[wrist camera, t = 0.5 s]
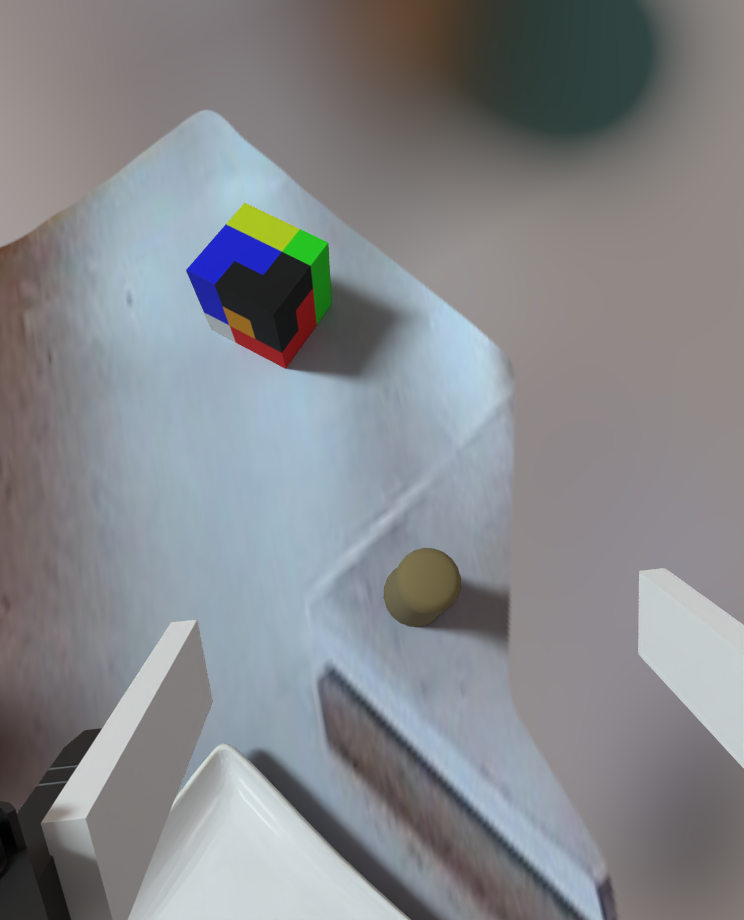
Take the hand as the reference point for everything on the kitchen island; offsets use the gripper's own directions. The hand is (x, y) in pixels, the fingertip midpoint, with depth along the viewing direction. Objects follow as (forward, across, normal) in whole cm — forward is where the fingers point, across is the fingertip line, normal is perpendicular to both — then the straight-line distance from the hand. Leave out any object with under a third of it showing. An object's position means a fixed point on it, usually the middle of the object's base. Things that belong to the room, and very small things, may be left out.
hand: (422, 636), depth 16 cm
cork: (+33, -2, +16) cm, 36 cm away
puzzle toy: (+50, +10, -12) cm, 53 cm away
